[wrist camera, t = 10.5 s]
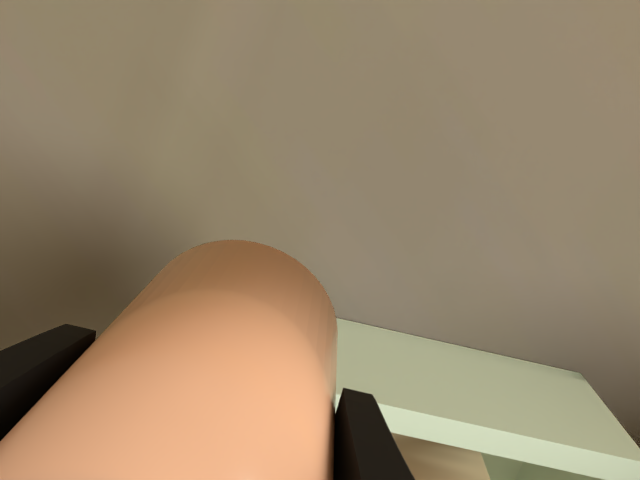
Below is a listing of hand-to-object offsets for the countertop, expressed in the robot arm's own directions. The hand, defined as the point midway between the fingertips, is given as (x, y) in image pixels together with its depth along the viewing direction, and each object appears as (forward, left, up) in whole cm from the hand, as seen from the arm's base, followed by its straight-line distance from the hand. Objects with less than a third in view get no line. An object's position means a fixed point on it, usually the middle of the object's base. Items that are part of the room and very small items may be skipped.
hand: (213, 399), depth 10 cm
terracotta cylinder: (0, 0, -3) cm, 3 cm away
